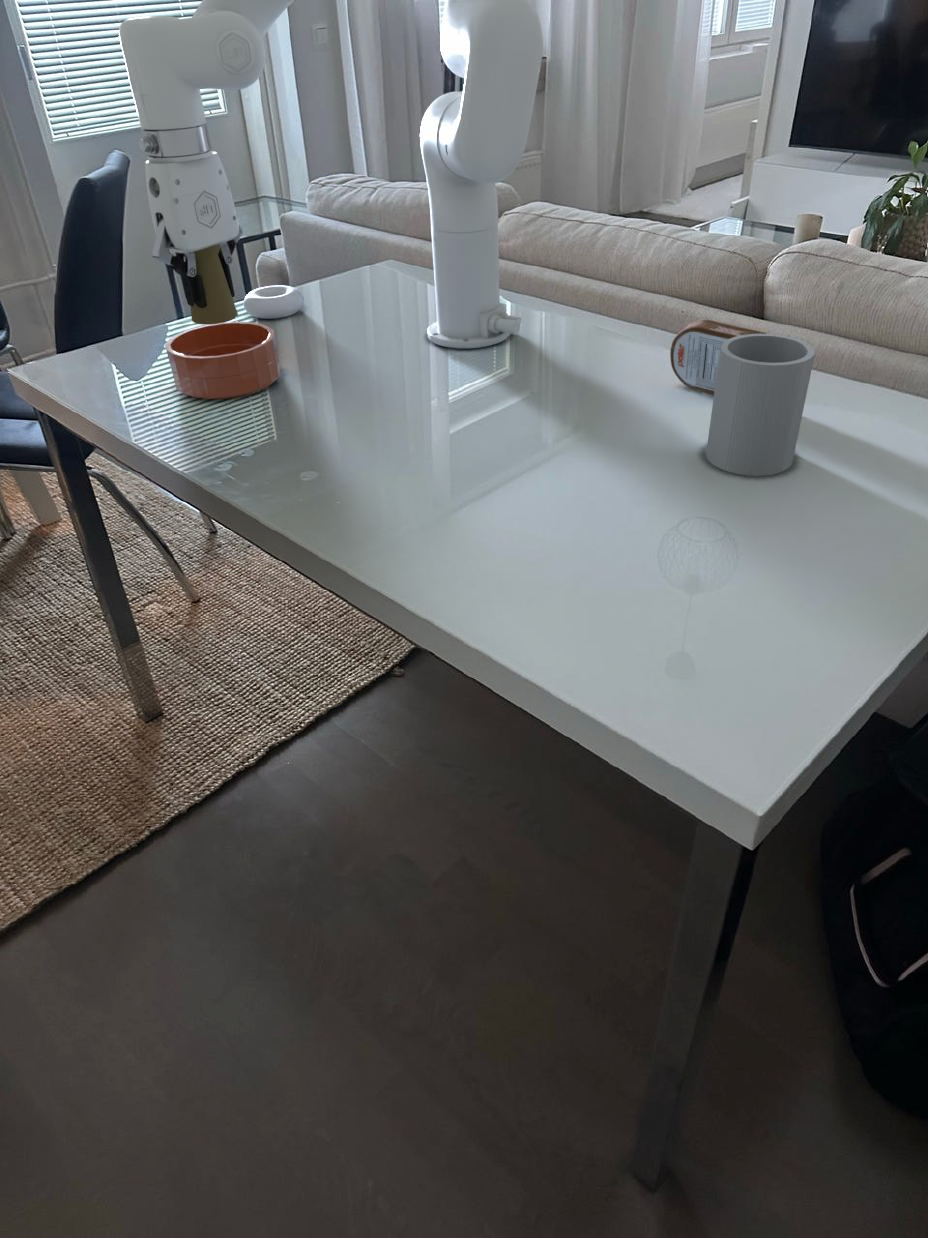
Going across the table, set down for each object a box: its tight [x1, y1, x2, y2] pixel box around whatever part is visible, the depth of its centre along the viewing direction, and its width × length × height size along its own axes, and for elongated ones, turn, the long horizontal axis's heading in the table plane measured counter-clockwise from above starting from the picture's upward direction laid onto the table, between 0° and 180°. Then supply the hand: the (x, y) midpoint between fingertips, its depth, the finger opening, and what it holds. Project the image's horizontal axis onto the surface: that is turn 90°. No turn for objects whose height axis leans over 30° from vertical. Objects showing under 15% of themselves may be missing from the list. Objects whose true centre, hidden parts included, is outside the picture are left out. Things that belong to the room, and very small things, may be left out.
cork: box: [182, 244, 239, 325], centre depth 110 cm, size 6×6×11 cm
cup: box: [705, 333, 816, 477], centre depth 90 cm, size 9×9×12 cm
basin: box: [165, 321, 282, 400], centre depth 117 cm, size 14×14×6 cm
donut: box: [243, 284, 305, 320], centre depth 142 cm, size 10×4×10 cm
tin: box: [669, 319, 768, 395], centre depth 105 cm, size 15×3×8 cm, turn 47°
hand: (211, 299), depth 112 cm, fingers closed on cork, 4 cm apart
